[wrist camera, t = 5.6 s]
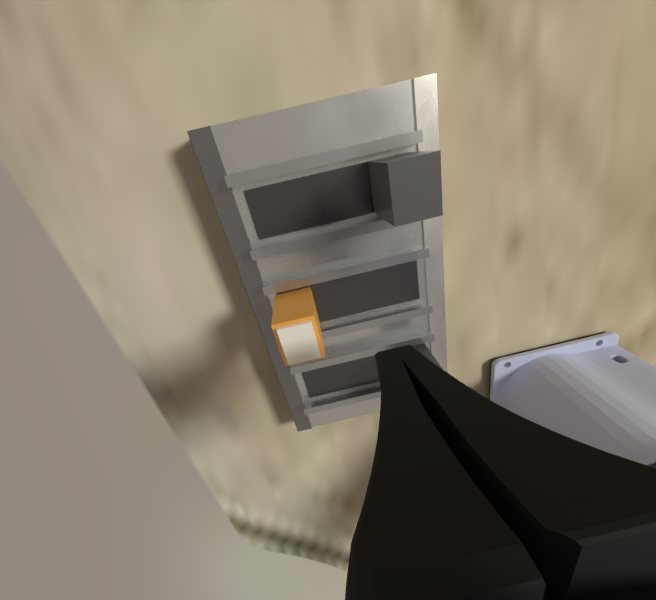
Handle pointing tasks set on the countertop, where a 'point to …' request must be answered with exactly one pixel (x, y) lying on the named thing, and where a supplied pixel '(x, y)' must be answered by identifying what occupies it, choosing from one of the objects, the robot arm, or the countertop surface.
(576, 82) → the countertop surface
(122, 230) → the countertop surface
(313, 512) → the countertop surface
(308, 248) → the panel
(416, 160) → the breaker
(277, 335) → the block
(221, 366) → the countertop surface
